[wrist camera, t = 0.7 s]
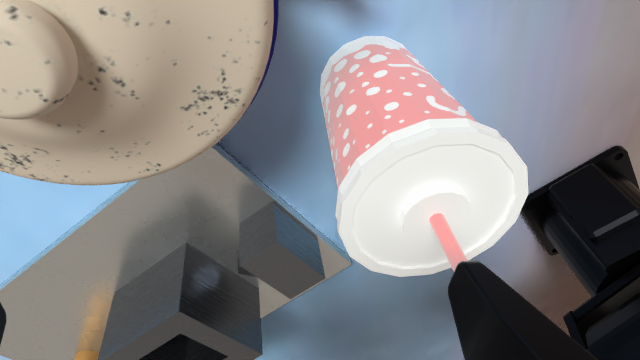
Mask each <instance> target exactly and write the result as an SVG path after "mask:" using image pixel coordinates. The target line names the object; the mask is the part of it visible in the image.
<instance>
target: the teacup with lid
mask: <svg viewBox="0 0 640 360" xmlns="http://www.w3.org/2000/svg"><path fill="white" fill-rule="evenodd" d="M277 25H278V0H0V171H2V172H6V173H9V174H13V175H16V176H21V177H25V178H30V179H34V180H39V181H46V182H52V183H60V184H71V185H107V184H117V183H125V182H131V181H136V180H141V179H145V178H149V177H152V176H155V175H159V174H162V173H164V172H167V171H169V170H172V169H174V168H177V167H179V166H181V165H183V164H185V163H187V162H189V161H191V160H193V159H194V158H196V157H198V156H199V155H201V154H202V153H204V152H206V151H207V150H208V149H210V148H211V147H212V146H213V145H215V144H216V143H217V142H219V141H220V140H221V139H222V138H223V137H224V136H225V135H226V134H227V133H228V132H229V131H230V130H231V129H232V128H233V127H234V125H235V124H236V123H237V122H238V121H239V120H240V118H241V117H242V116H243V115H244V113H245V112H246V110H247V109H248V107H249V106H250V105H251V103H252V102H253V100H254V98H255V97H256V95H257V93H258V91H259V89H260V88H261V85H262V83H263V81H264V78H265V76H266V74H267V71H268V68H269V65H270V62H271V58H272V55H273V51H274V46H275V40H276V35H277Z"/></svg>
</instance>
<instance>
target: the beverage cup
mask: <svg viewBox="0 0 640 360" xmlns="http://www.w3.org/2000/svg"><path fill="white" fill-rule="evenodd" d="M320 96H321V101H322V106H323V112H324V117H325V123H326V128H327V133H328V139H329V144H330V150H331V155H332V160H333V166H334V171H335V176H336V182H337V187H338V195H337V205H336V214H335V216H336V219H337V221H338V224H337V228H338V232H339V235H340V237H341V239H342V241H343V243H344V246H345V248H346V250H347V252H348V254H349V256H350V257H351V258H353V259H354V260H356V261H357V262H359V263H360V264H362V265H363V266H365V267H366V268H367V269H369V270H370V271H374V272H378V273H383V274H388V275H393V276H397V277H405V276H417V275H429V274H434V273H437V272H440V271H443V270H446V269H449V268H452V269H453V271H455V269H456V266H457V265H458V263H460V262H461V261H469V260H470V259H472V258H474V257H475V256H477V255H478V254H480V253H482V252H483V251H485V250H486V249H488V248H490V247H491V246H493V245H494V244H495V243H496V242H497V241H498V240H499V239H500V238H501V237H502V236H503V234H504V233H505V232H506V231H507V230H508V229H509V228H510V227H511V226H512V225H513V224H514V223H515V222H516V220H517V218H518V216H519V213H520V211H521V209H522V207H523V205H524V203H525V200H526V198H527V196H528V175H527V166H526V165H525V163H524V162H523V161H522V159H521V158H520V157H519V155H518V154H517V153H516V151H515V150H514V149H513V147H512V146H511V145H510V144H509V142H508V141H507V140H506V139H504V138H502V136H501V135H500V134H499V132H498V131H497V130H495V129H492V128H490V127H487V126H485V125H482V124H480V123H478V122H477V121H476V120H475V119H474V118H473V117H472V116H471V115H470V114H469V113H468V112H467V111H466V110H465V109H464V108H463V107H462V106H461V105H460V104H459V103H458V102H457V101H456V100H455V99H454V98H453V97H452V96H451V95H450V94H449V93H448V91H447V90H446V89H445V88H444V87H443V86H442V85H441V84H440V83H439V82H438V81H437V80H436V79H435V78H434V77H433V76H432V75H431V74H430V73H429V72H428V71H427V70H426V69H425V68H424V67H423V66H422V65H421V64H420V63H419V61H418V60H417V59H416V58H415V57H414V56H413V55H412V54H411V53H410V52H409V51H408V50H407V49H406V48H405V47H404V46H403V45H402V44H401V43H399V42H396V41H394V40H392V39H390V38H388V37H385V36H364V37H361V38H359V39H356V40H353V41H351V42H348V43H346V44H344V45H343V46H342V47H341V48H340V49H339V50H338V51H337V52H336V53H334V54H333V55H332V56H331V57H330V58H329V60H328V62H327V64H326V66H325V68H324V70H323V72H322V74H321V85H320Z"/></svg>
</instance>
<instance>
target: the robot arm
mask: <svg viewBox="0 0 640 360" xmlns="http://www.w3.org/2000/svg"><path fill="white" fill-rule="evenodd" d="M521 211H522V212H523V214H524V216H525V217H526V219H527V220H528V222H529V224H530V225H531V227H532V228H533V230H534V232H535V233H536V235H537V236H538V238H539V240H540V241H541V243H542V244H543V246H544V248H545V249H546V251H547V252H548V253H549V254H550V255H556V254H558V253H559V254H560V255H561V257H562V258H563V259H564V261H565V262H566V263H567V265H568V266H569V267H570V269H571V270H572V271H573V273H574V274H575V275H576V277H577V278H578V279H579V281H580V282H581V283H582V285H583V286H584V287H585V289H586V290H587V291H588V293H589V294H590V295H591V298H590V299H589V300H587V301H586V302H585V303H583V304H582V305H581V306H579V307H578V308H577V309H575V310H574V311H570V312H568V313H567V314H566V315H564V316H563V318H564V321H565V323H566V325H567V328H568V331H569V334H570V336H571V337H570V336H569V335H567V334H566V333H565V332H564V331H563V330H561V329H560V328H559V327H558V326H557V325H555V324H554V323H553V322H552V321H551V320H549V319H548V318H547V317H546V316H545V315H543V314H542V313H541V312H540V311H539V310H537V309H536V308H535V307H534V306H533V305H531V304H530V303H529V302H528V301H527V300H525V299H524V298H523V297H522V296H521V295H519V294H518V293H517V292H516V291H515V290H513V289H512V288H511V287H510V286H509V285H507V284H506V283H505V282H504V281H503V280H501V279H500V278H499V277H498V276H497V275H495V274H494V273H493V272H492V271H491V270H489V269H488V268H487V267H486V266H485V265H483V264H482V263H481V262H479V261H461V262H460V263H458V265H457V266H456V269H455V271H454V274H453V276H452V279H451V281H450V283H449V287H448V295H449V300H450V304H451V308H452V312H453V316H454V320H455V323H456V327H457V331H458V335H459V339H460V343H461V347H462V351H463V355H464V358H465V360H640V189H639V186H638V183H637V180H636V177H635V174H634V171H633V168H632V165H631V162H630V158H629V155H628V152H627V151H626V150H625V149H624V148H623V147H622V146H615V147H612V148H611V149H609V150H607V151H605V152H604V153H602V154H600V155H598V156H597V157H595V158H593V159H591V160H590V161H588V162H586V163H584V164H583V165H581V166H579V167H577V168H576V169H574V170H572V171H570V172H569V173H567V174H565V175H563V176H562V177H560V178H558V179H556V180H555V181H553V182H551V183H549V184H548V185H546V186H544V187H542V188H541V189H539V190H537V191H535V192H534V193H532V194H530V195H528V196H527V198H526V200H525V203H524V205H523V207H522V209H521ZM5 326H6V312H5V310H4V308H3V306H2V304H1V302H0V345H1V341H2V338H3V334H4V330H5Z"/></svg>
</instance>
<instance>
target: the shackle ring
mask: <svg viewBox="0 0 640 360" xmlns="http://www.w3.org/2000/svg"><path fill="white" fill-rule="evenodd" d="M261 355H262V336H261V318H260V300H259V288H257V287H256V286H254V285H253V284H251V283H249V282H248V281H246V280H245V279H243V278H242V277H240V276H238V275H237V274H235V273H234V272H232V271H231V270H229V269H228V268H226V267H224V266H223V265H221V264H220V263H218V262H217V261H215V260H213V259H212V258H210V257H209V256H207V255H206V254H204V253H203V252H201V251H199V250H198V249H196V248H195V247H193V246H192V245H190V244H189V243H187V242H186V243H184V244H183V245H182V246H180V247H179V248H177V249H176V250H174V251H173V252H172V253H170V254H169V255H167V256H166V257H164V258H163V259H162V260H160V261H159V262H157V263H156V264H155V265H153V266H152V267H150V268H149V269H147V270H146V271H145V272H143V273H142V274H140V275H139V276H137V277H136V278H135V279H133V280H132V281H130V282H129V283H128V284H126V285H125V286H123V287H122V288H120V289H119V290H118V291H116V292H115V293H114V296H113V300H112V304H111V308H110V312H109V316H108V320H107V324H106V328H105V332H104V336H103V340H102V344H101V348H100V352H99V356H98V360H254V359H255V358H257V357H259V356H261Z"/></svg>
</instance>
